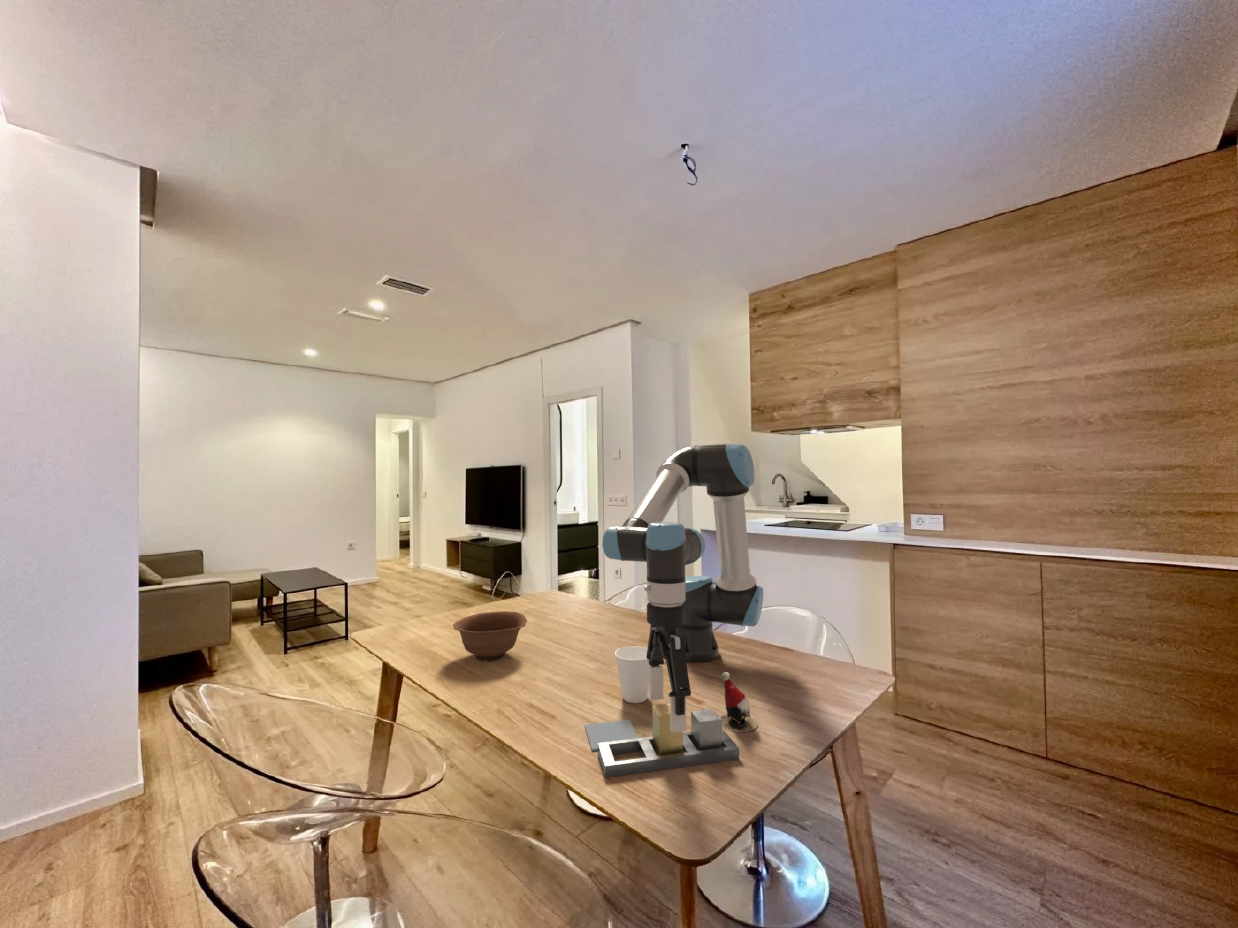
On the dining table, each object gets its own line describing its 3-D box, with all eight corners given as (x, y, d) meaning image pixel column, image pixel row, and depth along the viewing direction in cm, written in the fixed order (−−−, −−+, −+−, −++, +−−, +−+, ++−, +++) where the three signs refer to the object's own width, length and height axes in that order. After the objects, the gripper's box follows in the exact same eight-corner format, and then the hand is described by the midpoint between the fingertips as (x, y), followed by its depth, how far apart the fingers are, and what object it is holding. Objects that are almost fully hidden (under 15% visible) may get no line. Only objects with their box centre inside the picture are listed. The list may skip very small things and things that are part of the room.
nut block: (675, 748, 97) (674, 702, 97) (683, 761, 93) (682, 713, 93) (652, 751, 96) (652, 704, 96) (659, 764, 92) (659, 715, 92)
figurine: (776, 709, 105) (736, 679, 103) (752, 750, 103) (710, 720, 101) (756, 694, 113) (718, 665, 111) (732, 732, 111) (694, 703, 109)
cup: (659, 692, 123) (659, 648, 123) (649, 710, 114) (648, 662, 114) (622, 687, 126) (622, 644, 127) (609, 704, 117) (608, 657, 117)
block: (713, 743, 99) (712, 708, 99) (722, 756, 94) (722, 719, 95) (691, 746, 98) (691, 711, 98) (700, 759, 93) (699, 721, 94)
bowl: (542, 652, 153) (541, 616, 153) (488, 676, 134) (488, 635, 135) (492, 640, 165) (492, 607, 165) (436, 660, 146) (436, 623, 146)
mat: (629, 721, 108) (629, 719, 108) (641, 745, 98) (641, 743, 98) (584, 726, 106) (584, 724, 106) (591, 751, 96) (591, 749, 96)
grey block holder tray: (722, 737, 101) (721, 727, 101) (739, 759, 93) (739, 748, 93) (597, 753, 96) (597, 742, 96) (605, 777, 88) (605, 766, 88)
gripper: (632, 590, 107) (632, 689, 106) (667, 620, 82) (667, 749, 81) (665, 588, 108) (665, 686, 107) (709, 618, 84) (710, 744, 83)
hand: (666, 714), depth 94 cm, fingers open, 13 cm apart
